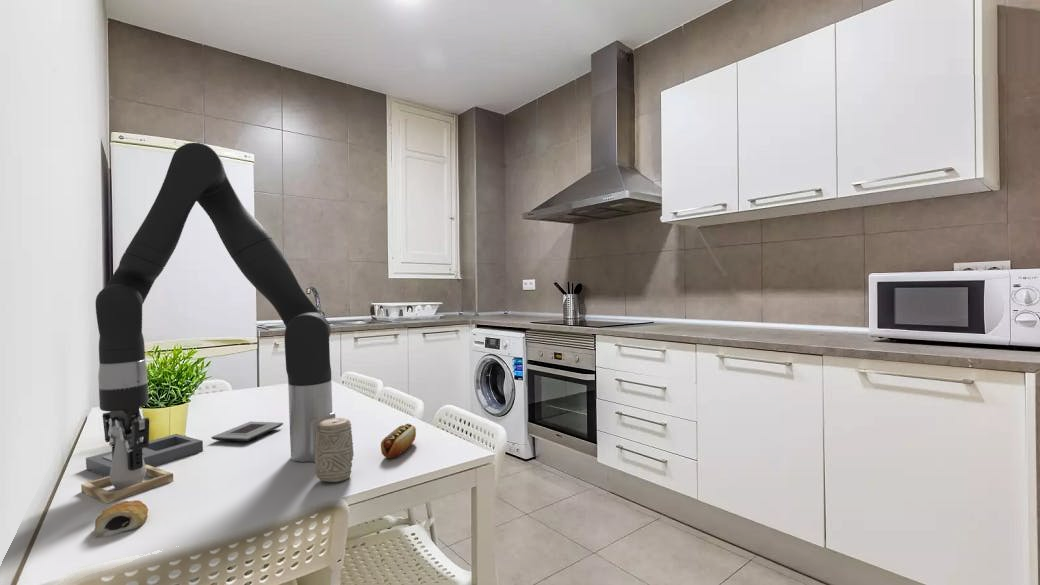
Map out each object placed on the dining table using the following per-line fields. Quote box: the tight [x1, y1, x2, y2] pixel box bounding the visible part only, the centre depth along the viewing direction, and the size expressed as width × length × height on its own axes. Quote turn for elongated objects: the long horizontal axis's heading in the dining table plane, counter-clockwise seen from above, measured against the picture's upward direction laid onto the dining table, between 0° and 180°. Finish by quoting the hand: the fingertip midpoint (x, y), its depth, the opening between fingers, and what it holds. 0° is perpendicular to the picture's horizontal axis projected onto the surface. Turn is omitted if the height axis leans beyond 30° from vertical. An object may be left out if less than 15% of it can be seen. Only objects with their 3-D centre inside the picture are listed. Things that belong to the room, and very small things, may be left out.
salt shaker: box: [109, 425, 146, 491], centre depth 95 cm, size 6×6×13 cm
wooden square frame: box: [80, 465, 174, 504], centre depth 96 cm, size 11×11×2 cm
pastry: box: [92, 499, 149, 538], centre depth 81 cm, size 9×7×4 cm
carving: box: [314, 417, 355, 483], centre depth 97 cm, size 6×8×12 cm
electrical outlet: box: [211, 421, 284, 442], centre depth 126 cm, size 13×10×2 cm
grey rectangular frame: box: [85, 433, 204, 477], centre depth 110 cm, size 12×18×3 cm, turn 151°
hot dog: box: [380, 423, 417, 459], centre depth 112 cm, size 5×13×5 cm, turn 171°
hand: (127, 466), depth 95 cm, fingers open, 6 cm apart
